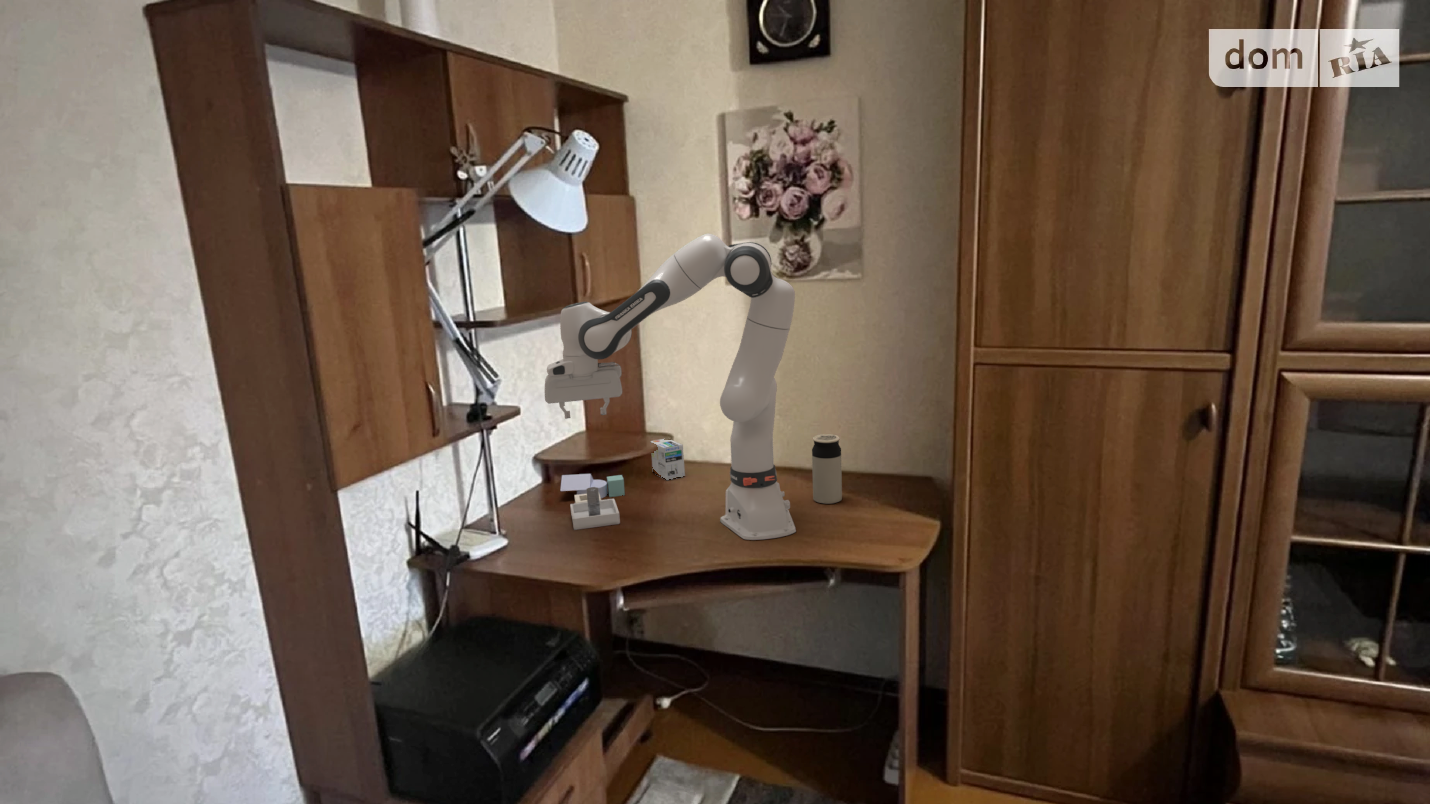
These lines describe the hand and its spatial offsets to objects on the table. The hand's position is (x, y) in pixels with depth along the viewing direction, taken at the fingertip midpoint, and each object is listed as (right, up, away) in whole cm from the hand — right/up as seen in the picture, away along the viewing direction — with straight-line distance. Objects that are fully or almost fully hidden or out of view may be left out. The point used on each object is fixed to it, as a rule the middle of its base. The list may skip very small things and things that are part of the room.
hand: (585, 416), depth 205 cm
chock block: (+5, -24, +26) cm, 36 cm away
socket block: (-2, -26, +16) cm, 31 cm away
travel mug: (+66, -24, +12) cm, 71 cm away
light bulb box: (+19, -20, +42) cm, 50 cm away
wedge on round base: (-4, -24, +26) cm, 36 cm away
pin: (+1, -28, +6) cm, 28 cm away
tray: (+2, -28, +6) cm, 29 cm away
